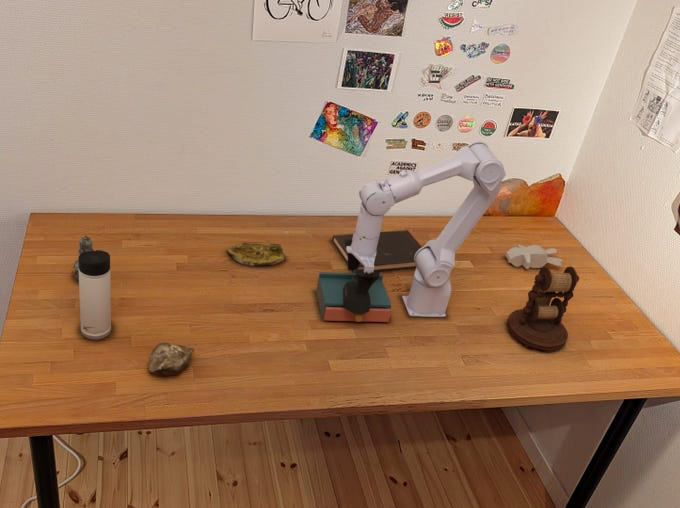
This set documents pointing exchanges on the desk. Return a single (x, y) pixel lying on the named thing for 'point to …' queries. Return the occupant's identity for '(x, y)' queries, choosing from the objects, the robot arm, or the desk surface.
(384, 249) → the hardcover book
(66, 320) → the desk surface
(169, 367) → the rock
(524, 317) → the brown round-based upright piece
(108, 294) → the travel mug
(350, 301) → the gaming mouse
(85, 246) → the grey stone figurine
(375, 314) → the drawer
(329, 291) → the teal drawer box
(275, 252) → the mossy rock
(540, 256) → the bunny figurine
